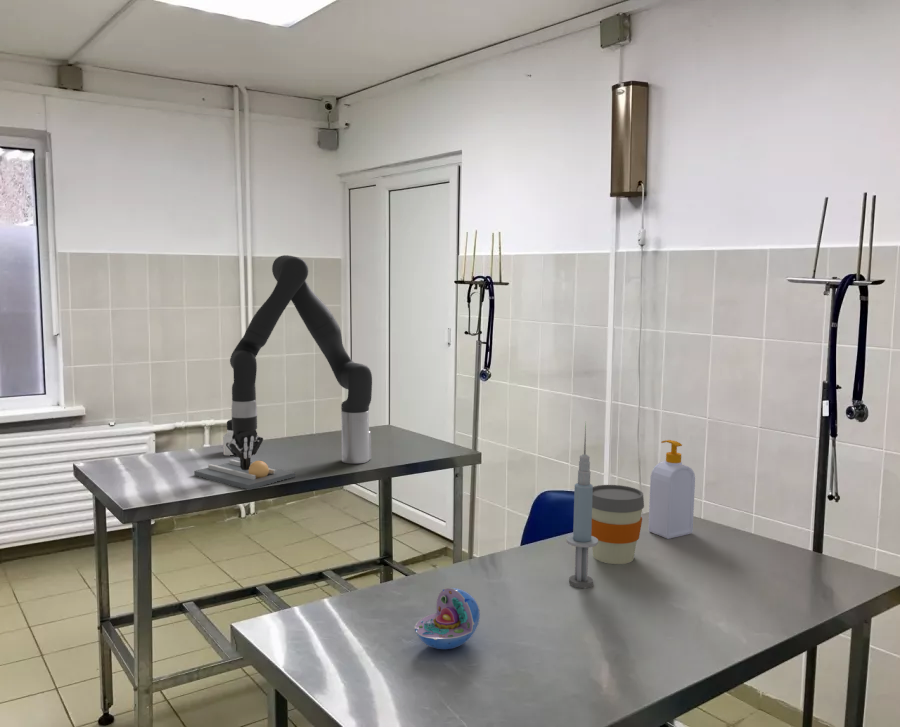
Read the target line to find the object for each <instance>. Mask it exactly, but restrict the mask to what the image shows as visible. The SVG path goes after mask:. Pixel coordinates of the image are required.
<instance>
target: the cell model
mask: <svg viewBox="0 0 900 727" xmlns="http://www.w3.org/2000/svg"><path fill="white" fill-rule="evenodd" d="M435 606H436V607H435V609H436V612H434V613H430V614H428V615H426V616H424V617H422V618H420V619H419V620H418V621H417V622H416V623H415V624H414V627H413V628H414V629H413V630H414V631H415V633H416V636H417V638H418V639H419V640H420V641H421V642H422V643H423V644H424V645H426V646H428V647H430V648H433V649H437V650H452V649H455V648H458V647H460V646H463V645H464V644H465V643H467V642H468V641H470V639H471V638H472V637H473V635H474V634H475V633H476V631H477V628H478V626H479V622H480V618H481V612H480V607H479V604H478V602H477V601H476V599H475V598H474V596H472V595H471V594H470V593H468V591H465V590H463V589H461V588H457V587H445V588H443V589H441V590H440V591H439V593H438V595H437V597H436V604H435Z"/></svg>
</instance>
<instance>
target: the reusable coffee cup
mask: <svg viewBox="0 0 900 727" xmlns="http://www.w3.org/2000/svg"><path fill="white" fill-rule="evenodd" d="M644 501H645V499H644V492H643V491H642V490H640V489H638V488H635V487H632V486H626V485H622V484H621V485H619V484H600V485H599V484H598V485H593V496H592V529H591V536H594V537H596V538H597V539H598V544H597V545H596V546H594V547H591V548H592V557H593V558H594V559H595V560H597V561H598V562H601V563H605V564H609V565H625V564H629V563H631V562H633V561H634V559H635V558H634V557H635V552H636V548H637V547H636V546H637V542H638V540H639V539H640V534H641V531H642V530H641V528H642V524H643V523H642V522H643V517H642V513H643V509H644V508H645V502H644Z"/></svg>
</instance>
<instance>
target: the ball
mask: <svg viewBox="0 0 900 727" xmlns="http://www.w3.org/2000/svg"><path fill="white" fill-rule="evenodd" d="M268 466H269V465H268V464H267V463H266V462H265V461H262V460H255V461H253V462H252V464H251V465H250V467H249V474H253V475H256V479H258V478H262V477H265V476H267V475H268V473H269V468H268Z"/></svg>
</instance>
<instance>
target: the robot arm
mask: <svg viewBox="0 0 900 727" xmlns="http://www.w3.org/2000/svg"><path fill="white" fill-rule="evenodd" d="M271 271H272V275H273V277H274V279H275V281H276V283H275V287H274V288H273V290H272V292H271V294H269V296H268V298H267V299H266V301H264V303H263V304H262V305H261V306H260V307H259V308H258V309H257V311H256V313H255V314H254V316H253V317H252V318H251V320H250V322H249V324H248V326H247V328H246V331H245V333H244V334H243V337H242V338H241V339H240V340H239V342H238V344H237V345H236V346H235V348H234V349H233V351H232V353H231V355H230V358H229V364H230V366H231V368H232V369H233V383H232V386H231V419H232V430H233V436H232V440H231V441H230V443H226V446H227V447H228V449H229V450H230V451H231V452H232V454H233V455H234V456H233V457H236V458H238V459H239V460H240V467H241V469H242V470H249V467H250V465H251V463H250V462H251V458H252V456H254V455H256V454H257V452H258V450H259V449H260V447H261V445H262V444H263V441H264V438H263V437H261V436H259V435H258V432H257V429H258V406H257V400H256V399H257V397H256V396H257V395H256V394H257V393H256V380H257V369H258V367H257V366H258V365H257V359H256V358H257V356H258V353H259V352H260V351H261V349H262V348H263V347H264V346H265V345H266V344H267V342H268V340H269V338H270V337H271V334H272V333H273V331H274V329H275V327H276V326H277V323H278V321H279V319H280V317H281V316H282V315H283V313H284V311H285V309H286V308H287V307H288V305H289V304H290V303H291V302H292V303H293V305H294V308H295V309H296V311H297V314H298V315H299V316H300V318H301V320H302V322H303V323H304V325H305V326H306V329H307V331H308V332H309V333H310V335H311V336H312V338H313V340H314V341H315V343H316V344H317V346H318V348H319V349H320V351H321V353H322V354H323V355H324V357H325V359H326V360H327V362H328V364H329V367H330V368H331V371H332V373H333V374H334V377H335V380H337V383H338V385H340V386H341V388H343V389H345V390H347V398H346V399H345V400H344V401H342V402H341V404H340V405H341V406H340V409H341V412H340V413H341V414H340V415H341V418H340V419H341V462H342V463H345V464H353V465H354V464H356V465H357V464H364V463H368V462H369V461H370V460H372V431H370V405H371V403H372V402H371V401H372V395H373V394H372V393H373V389H372V388H373V375H372V374H373V373H372V372H371V371H372V370H371V369H370V367H368V365H366V364H362V363H357V362H354V361H353V359H351V357H350V356H349V354H348V353H347V350H346V349H345V347H344V344H343V336H342V331H341V328H340V325H339V324H338V321H337V320H336V318H335V316H334V315H333V313H332V312H331V310H330V309H329V307H328V306H327V305H326V303H324V302H323V301H322V300H321V299H320V298H319V296H318V295H317V294H316V293H315V292H314V291H313V290H312V288H311V287H310V286H309V284H308V281H307V278H308V275H309V266H308V264H307V262H306V261H305V260H304V259H302V258H301V257H298V256H294V255H288V254H287V255H285V254H284V255H279V256H278V257H277V258H275V259H274V261H273V263H272V266H271ZM236 446H237V447H236Z"/></svg>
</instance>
